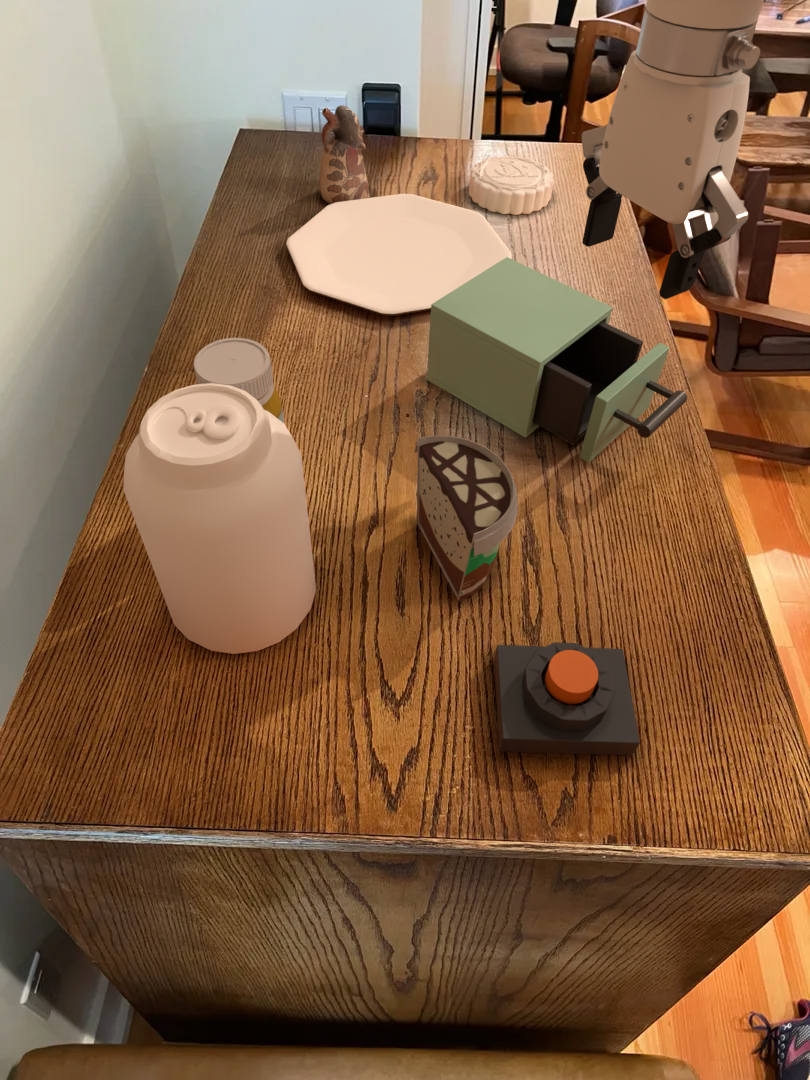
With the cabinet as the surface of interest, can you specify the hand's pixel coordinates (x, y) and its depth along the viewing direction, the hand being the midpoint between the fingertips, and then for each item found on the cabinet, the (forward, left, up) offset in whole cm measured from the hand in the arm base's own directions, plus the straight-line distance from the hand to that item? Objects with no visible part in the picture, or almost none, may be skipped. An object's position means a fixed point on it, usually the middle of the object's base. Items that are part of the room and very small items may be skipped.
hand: (634, 266), depth 67 cm
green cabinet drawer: (+1, 0, -17) cm, 17 cm away
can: (+9, +39, -18) cm, 44 cm away
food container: (-2, +22, -18) cm, 29 cm away
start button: (-17, +29, -15) cm, 37 cm away
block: (-17, +29, -18) cm, 38 cm away
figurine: (+53, -17, -18) cm, 59 cm away
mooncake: (+36, -34, -18) cm, 53 cm away
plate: (+36, -10, -18) cm, 42 cm away
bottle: (+18, +30, -18) cm, 40 cm away
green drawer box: (+10, 0, -18) cm, 21 cm away
